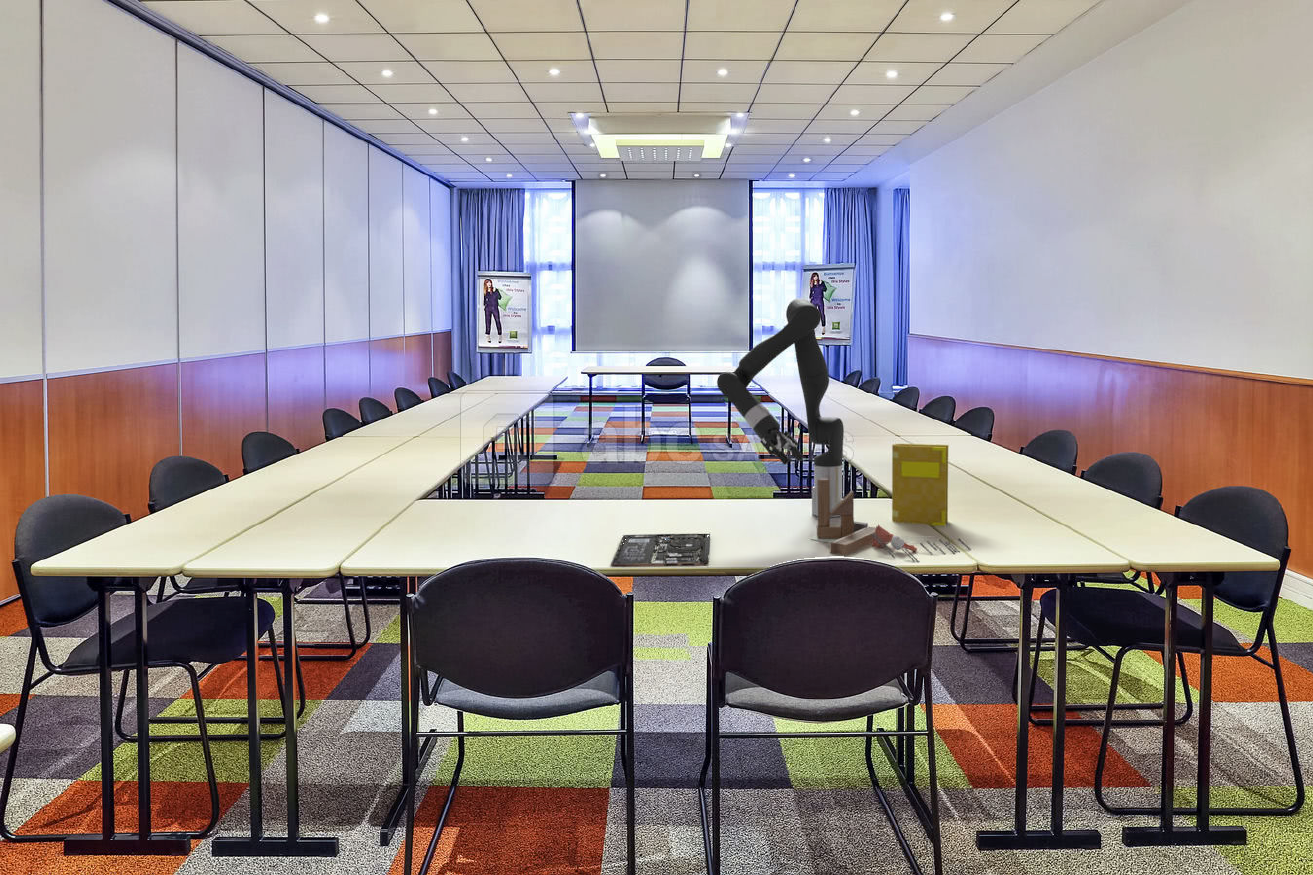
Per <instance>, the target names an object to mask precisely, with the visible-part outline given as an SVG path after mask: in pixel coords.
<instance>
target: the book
mask: <svg viewBox="0 0 1313 875" xmlns="http://www.w3.org/2000/svg"><path fill="white" fill-rule="evenodd" d="M891 449H892V450H891V451H892V453H891V456H892V458H891V460H892V461H891V462H892V463H891V466H892V467H891V469H892V471H891V472H892V474H891V477H892V479H891V480H892V481H891V484H892V485H891V487H892V488H891V489H892V490H891V494H892V495H891V496H892V498H891V506H892V507H891V510H892V511H891V512H892V513H891V521H892V522H893V523H897V524H911V525H912V524H913V525H924V526H925V525H927V526H936V527H937V526H938V527H945V526H946V524H947V523H948V520H949V518H948V517H949V515H948V513H949V511H948V510H949V509H948V508H949V505H948V503H949V500H948V498H949V494H948V493H949V444H923V443H921V444H920V443H918V444H917V443H895V444H892V445H891Z"/></svg>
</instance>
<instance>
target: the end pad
mask: <svg viewBox="0 0 1313 875" xmlns="http://www.w3.org/2000/svg"><path fill="white" fill-rule="evenodd" d="M838 539H840V538H831V539H818V537H817V535H815V536H814V537H812V538H810V541H818V542H824V543H829V544H830V543H831V542H833V541H835V540H838Z"/></svg>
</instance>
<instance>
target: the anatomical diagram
mask: <svg viewBox="0 0 1313 875" xmlns="http://www.w3.org/2000/svg"><path fill="white" fill-rule="evenodd" d="M870 535H872V536H873V537H874V538H873V542H872V544H871V547H873V548H876V549H879V548H884V550H885V551H887V553H888V554H889V555H890V556H891V557H892V558H893V559H895V558H896V557H895V555H894V554H892V552H894V551H893V550H892V548H893V549H895V550H897V551H900V550H902V552H904V554H906V556H907V557H909V559H911V560H912V561H913V562H915V561H916V562H917V563H920V561H919V560H918V558H916V557H915V556H914V555H913V554H912V553H911V552H916V551H917V550H918V548H917V547H915V545H914V544H909V543H907V542H906V541H908V540H912V537H900V536H899V535H896V534H894V533H891V532H888V530H886V529H884V527H882V526H881V525H880V524H877V525H876V530H875V533H874V535H873V534H870ZM923 537H925V538H926V537H927V538H928V537H934V536H933V535H931V536H929V535H928V536H927V535H926V536H923V535H922V536H921V535H920V536H918V535H917V536H915V538H923ZM957 540H958V541H959V542H960V543H961V544H963V546H964V547H966V549H968V550H969V551H970V550H972V548H970V547H969V546H968V545H967V544H966V543H965V542H963V541H962V539H961V538H957ZM938 542H939V543H941V544H942V545H943V546H945V548H947V550H949V551H950V552H951V553H952V555H956V553H961V551H960V550H958V548H956V547H955V546H956V545H955V546H954V544H952V543H951V542H950V541H949V540H948V541H942V538H938ZM923 543H927V544H928V545H929V546H930V547H931V548H932V549H933V550H934V551H935V552H936V551H940V552H941V553H942V554H943V555H947V552H946V553H945V551H943V549H941V548H940V547H939V546H938V545H937V544H936V542H935V541H929V540H924V541H923V540H922V541H921V540H916V544H919V545H920V546H921V547H922V548H923V549H924V550H926V551H927V553H929V554H930V555H931V556H932V555H933V552H931V551H930V550H929V549H928V548H927V546H925V545H924V544H923ZM889 544H890V545H891V547H892V548H890V547H889V546H888V545H889Z"/></svg>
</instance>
